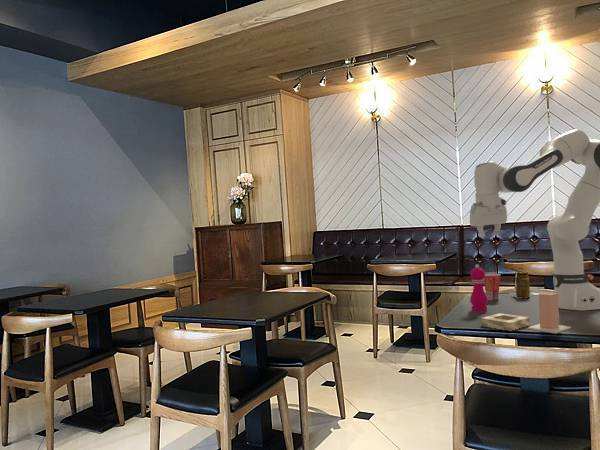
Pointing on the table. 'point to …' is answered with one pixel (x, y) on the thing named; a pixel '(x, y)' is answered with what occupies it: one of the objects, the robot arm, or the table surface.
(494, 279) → the cup
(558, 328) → the felt pad
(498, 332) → the table surface
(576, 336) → the table surface
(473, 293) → the pepper mill
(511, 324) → the pocket board
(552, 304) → the terracotta block
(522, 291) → the condiment
